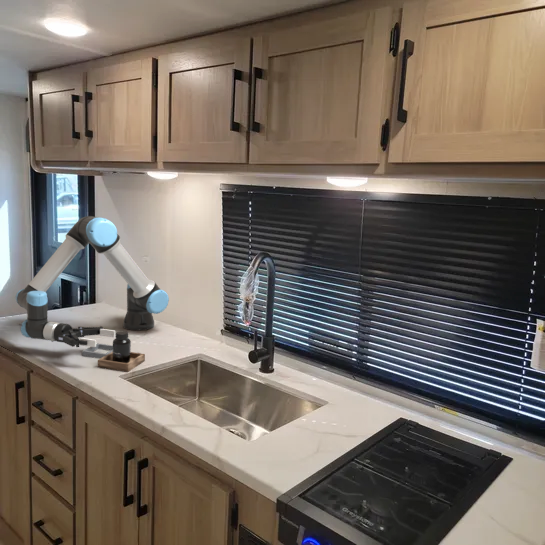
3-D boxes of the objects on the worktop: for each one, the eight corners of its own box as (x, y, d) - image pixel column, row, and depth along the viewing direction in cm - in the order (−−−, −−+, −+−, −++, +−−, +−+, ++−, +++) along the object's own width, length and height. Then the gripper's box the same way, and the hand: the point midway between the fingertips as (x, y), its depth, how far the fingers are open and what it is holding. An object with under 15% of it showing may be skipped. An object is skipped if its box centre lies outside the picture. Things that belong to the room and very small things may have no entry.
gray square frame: (97, 347, 212) (97, 343, 211) (120, 351, 209) (120, 346, 209) (82, 355, 201) (82, 351, 201) (106, 359, 199) (106, 354, 198)
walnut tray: (116, 356, 202) (116, 349, 202) (144, 361, 199) (144, 353, 199) (97, 367, 190) (97, 359, 189) (128, 372, 187) (128, 364, 186)
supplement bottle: (112, 365, 190) (112, 335, 188) (112, 359, 196) (112, 330, 194) (130, 364, 192) (130, 334, 190) (130, 358, 198) (130, 329, 196)
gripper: (77, 332, 212) (121, 338, 207) (37, 350, 188) (87, 357, 183) (77, 316, 210) (122, 321, 206) (37, 331, 186) (86, 338, 182)
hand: (105, 338), depth 194 cm, fingers open, 13 cm apart
